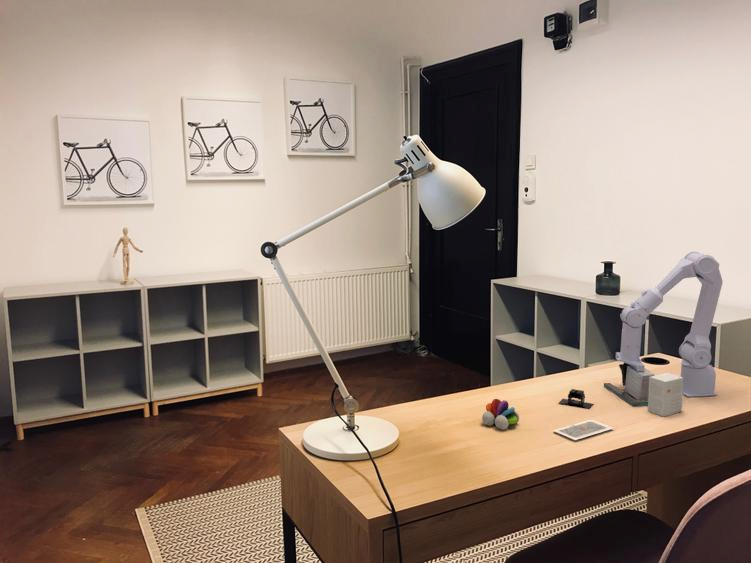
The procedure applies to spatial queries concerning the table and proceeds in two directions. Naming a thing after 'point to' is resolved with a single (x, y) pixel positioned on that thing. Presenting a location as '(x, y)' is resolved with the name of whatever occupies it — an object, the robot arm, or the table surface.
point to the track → (625, 396)
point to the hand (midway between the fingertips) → (627, 386)
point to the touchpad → (583, 429)
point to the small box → (665, 394)
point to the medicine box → (637, 383)
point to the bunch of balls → (500, 414)
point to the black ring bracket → (575, 403)
